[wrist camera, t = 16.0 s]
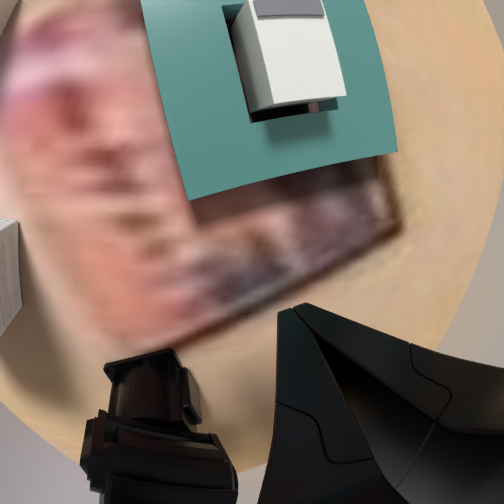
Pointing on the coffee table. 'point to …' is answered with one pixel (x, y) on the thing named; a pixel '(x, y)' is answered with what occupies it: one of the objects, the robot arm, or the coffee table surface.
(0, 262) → the supplement box
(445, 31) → the coffee table surface
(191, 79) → the socket board
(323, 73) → the plug
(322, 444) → the robot arm
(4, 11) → the architectural model
